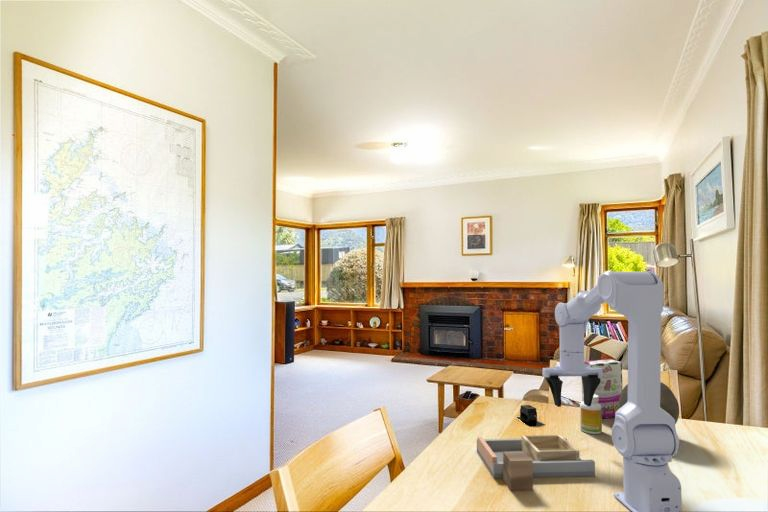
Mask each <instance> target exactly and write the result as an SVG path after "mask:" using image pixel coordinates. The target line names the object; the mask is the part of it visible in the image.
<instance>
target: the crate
mask: <svg viewBox="0 0 768 512" xmlns="http://www.w3.org/2000/svg"><path fill="white" fill-rule="evenodd" d="M521 438H522V451H524V452H525V453H526V454H527V455H528V456H529V457H530V458H531V459H532V460H533V461H556V460H580V459H581V457H580V449H578V448H577V447H575V446H574V445H573V444H572V443H571V442H569V440H568V439H567V438H566V439H567V440H566V439H564V438H565V437H563V436H562V434H532V435H530V434H529V435H521Z"/></svg>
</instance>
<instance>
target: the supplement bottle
mask: <svg viewBox="0 0 768 512" xmlns="http://www.w3.org/2000/svg"><path fill="white" fill-rule="evenodd" d="M583 400H584V394H583ZM598 401H599V397H598V395H595V394H594V396H593V399H592V403H591V406H587V405H585V404H584V401H583V402H582V401H581V402H580V404H579V424H580V425H579V426H580V431H582V432H583V433H586V434H590V435H598V434H599V435H600V434H601V433H602V432H603V425H602V424H603V421H602V420H603V419H602V408H601V405H600V404H599V403H598Z"/></svg>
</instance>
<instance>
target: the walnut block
mask: <svg viewBox="0 0 768 512" xmlns="http://www.w3.org/2000/svg"><path fill="white" fill-rule="evenodd" d="M502 479H503V480H502V481H503V482H504V483H505V485H506V487H507V488H508V489H509V491H510V492H533V490H534V482H533V481H534V477H533V460H532V459H531V458H530V457H529V456H528V455H527V454H526V453H525V452H524V451H511V452H503V478H502Z"/></svg>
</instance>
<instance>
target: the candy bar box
mask: <svg viewBox="0 0 768 512" xmlns="http://www.w3.org/2000/svg"><path fill="white" fill-rule="evenodd" d="M584 362H585V367H598V368H601V369H602V377H598V378H600V379H601V382H600V384H599V385H598V387H597V389H596V391H595V393H594V394H595V395H598V397H599V401H598V403H599V404H600V405H601V408H602V420H603V419H611V418H612V419H613V418H614V419H615V413H616V411H617V410H619V397H620V394H621V392H622V390H623V365H622V364H623V362H622V361H619V360H616V359H611V358H610V359H597V360H586V361H585V360H584ZM581 394H582V395H581V396H582V397H581V398H582V399H581V402H583V401H584V400H583V394H584V390H583V382H582V381H581Z"/></svg>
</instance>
